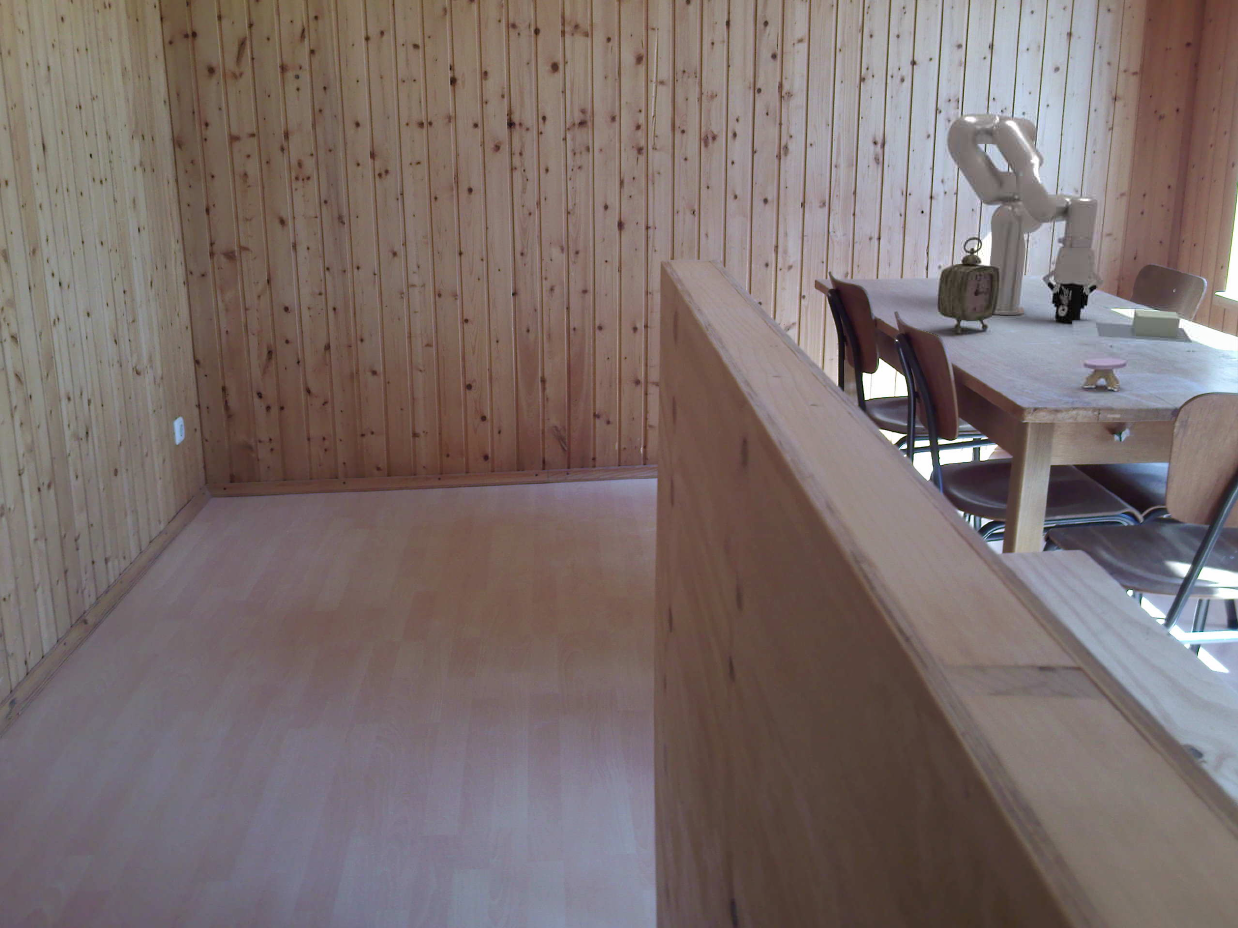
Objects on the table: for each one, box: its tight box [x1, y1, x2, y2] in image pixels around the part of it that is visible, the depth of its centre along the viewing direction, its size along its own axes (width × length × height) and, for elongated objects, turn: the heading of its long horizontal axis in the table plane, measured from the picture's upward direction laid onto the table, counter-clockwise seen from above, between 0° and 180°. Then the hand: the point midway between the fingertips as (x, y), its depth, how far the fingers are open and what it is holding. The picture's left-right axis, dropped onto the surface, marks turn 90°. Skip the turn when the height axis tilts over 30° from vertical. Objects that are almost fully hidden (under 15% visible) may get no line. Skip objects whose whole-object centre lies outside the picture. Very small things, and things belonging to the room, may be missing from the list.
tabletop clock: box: [937, 236, 999, 335], centre depth 300 cm, size 14×9×25 cm, turn 123°
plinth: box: [1132, 309, 1181, 338], centre depth 297 cm, size 10×10×5 cm
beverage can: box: [1054, 281, 1085, 325], centre depth 315 cm, size 7×7×12 cm
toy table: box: [1083, 357, 1127, 390], centre depth 244 cm, size 10×9×6 cm
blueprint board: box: [1095, 322, 1193, 343], centre depth 298 cm, size 22×20×1 cm
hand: (1069, 306), depth 316 cm, fingers closed on beverage can, 6 cm apart
